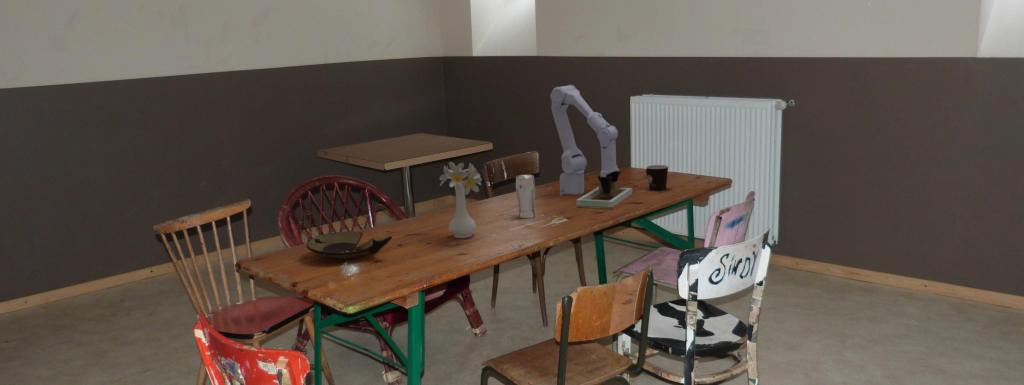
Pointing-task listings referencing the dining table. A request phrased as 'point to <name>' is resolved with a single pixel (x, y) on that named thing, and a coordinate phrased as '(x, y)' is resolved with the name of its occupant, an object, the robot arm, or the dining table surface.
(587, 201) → the bay
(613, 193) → the cardboard box
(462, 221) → the flower vase
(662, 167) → the coffee mug
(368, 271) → the dining table surface
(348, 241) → the oil lamp
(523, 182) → the beer glass
